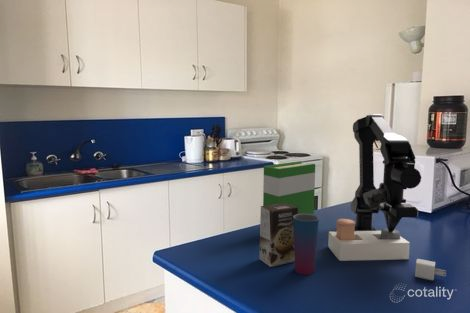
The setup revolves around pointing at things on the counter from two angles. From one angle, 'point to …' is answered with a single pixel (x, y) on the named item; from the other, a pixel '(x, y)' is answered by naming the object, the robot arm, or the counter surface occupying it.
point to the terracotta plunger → (345, 229)
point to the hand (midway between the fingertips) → (390, 231)
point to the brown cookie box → (277, 234)
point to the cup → (305, 242)
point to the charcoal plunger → (390, 234)
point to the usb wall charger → (427, 270)
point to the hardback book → (290, 185)
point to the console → (368, 247)
